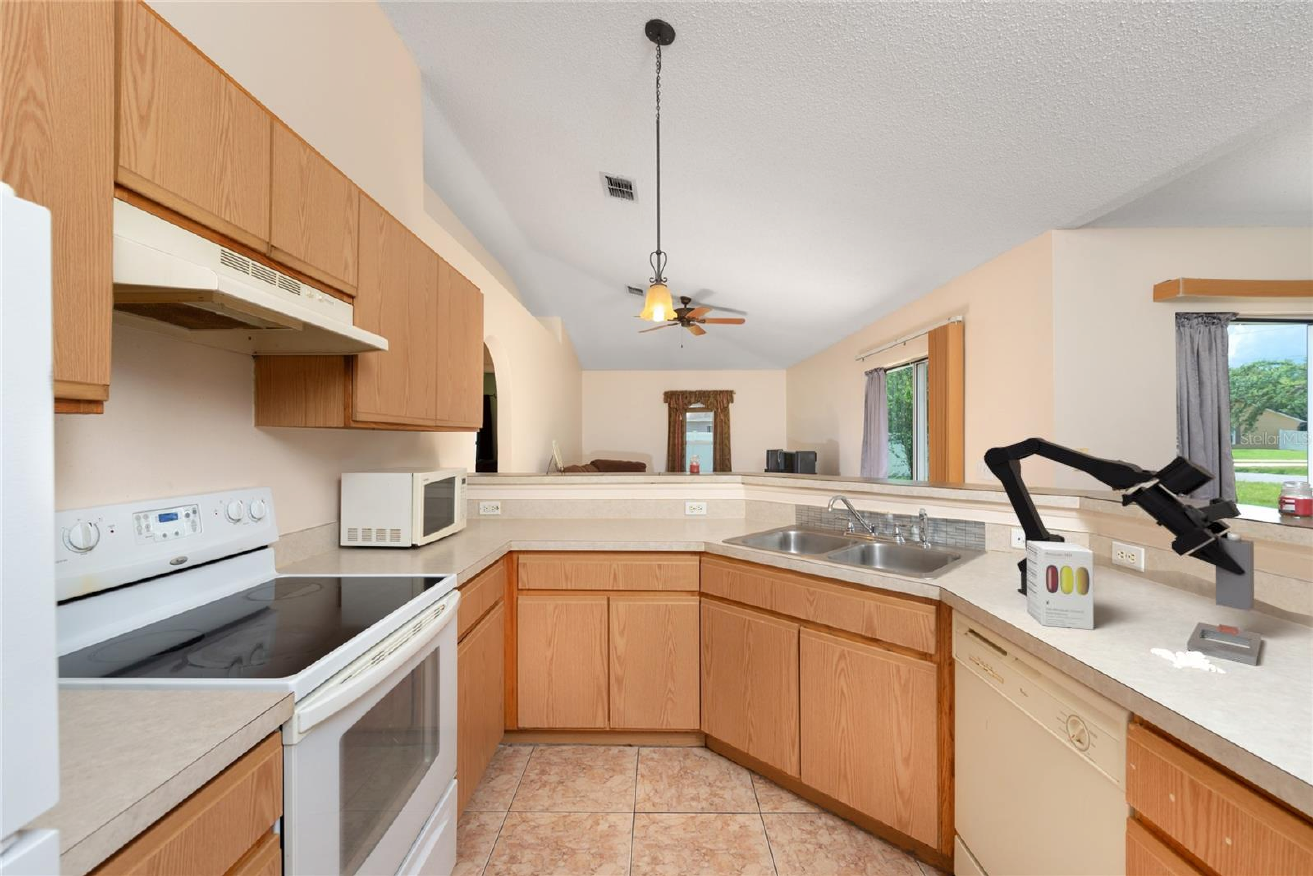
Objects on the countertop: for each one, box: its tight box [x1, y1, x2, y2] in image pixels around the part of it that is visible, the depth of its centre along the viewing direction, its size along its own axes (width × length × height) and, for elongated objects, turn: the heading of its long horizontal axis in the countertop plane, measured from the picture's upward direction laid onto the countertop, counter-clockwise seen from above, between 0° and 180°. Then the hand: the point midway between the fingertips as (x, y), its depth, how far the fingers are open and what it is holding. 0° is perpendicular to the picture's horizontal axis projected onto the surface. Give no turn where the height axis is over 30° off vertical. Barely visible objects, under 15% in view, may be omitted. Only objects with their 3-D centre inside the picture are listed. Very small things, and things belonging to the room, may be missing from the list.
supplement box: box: [1026, 541, 1095, 631], centre depth 112 cm, size 10×9×17 cm
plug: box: [1215, 531, 1255, 612], centre depth 101 cm, size 4×4×14 cm
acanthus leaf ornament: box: [1150, 648, 1227, 674], centre depth 91 cm, size 8×7×2 cm
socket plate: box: [1186, 621, 1262, 667], centre depth 97 cm, size 16×8×2 cm, turn 128°
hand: (1244, 571), depth 100 cm, fingers closed on plug, 4 cm apart
